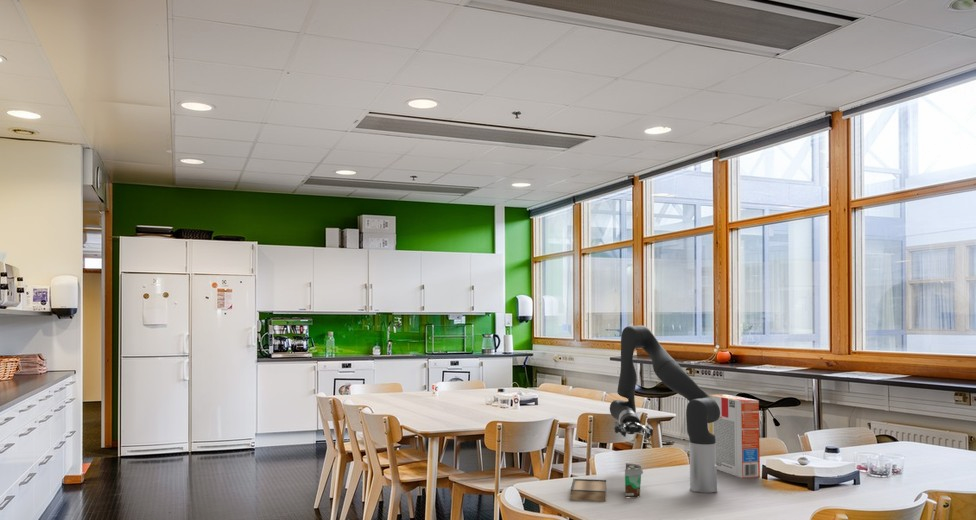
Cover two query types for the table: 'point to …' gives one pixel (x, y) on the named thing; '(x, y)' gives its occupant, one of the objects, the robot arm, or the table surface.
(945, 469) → the table surface
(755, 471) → the pasta box
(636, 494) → the food container
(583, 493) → the dock
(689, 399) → the robot arm
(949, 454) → the table surface
